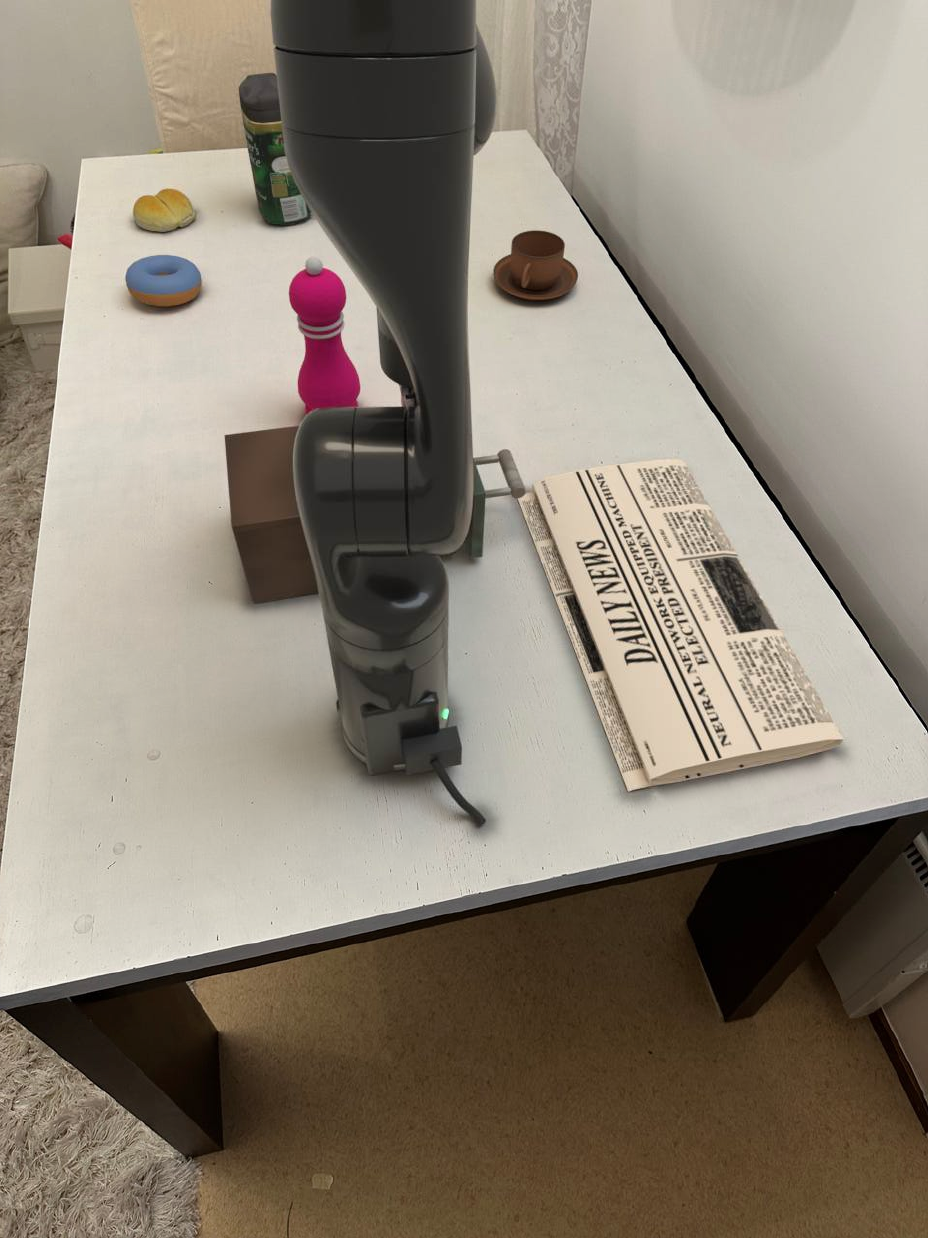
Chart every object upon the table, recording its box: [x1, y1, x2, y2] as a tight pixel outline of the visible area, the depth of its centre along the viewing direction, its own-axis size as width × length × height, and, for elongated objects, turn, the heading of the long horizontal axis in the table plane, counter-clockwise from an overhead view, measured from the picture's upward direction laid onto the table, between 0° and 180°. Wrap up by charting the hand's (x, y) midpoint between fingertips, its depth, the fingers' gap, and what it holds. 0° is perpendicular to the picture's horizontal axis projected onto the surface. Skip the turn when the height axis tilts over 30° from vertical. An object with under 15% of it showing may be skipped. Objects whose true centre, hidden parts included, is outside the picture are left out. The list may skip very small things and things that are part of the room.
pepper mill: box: [288, 256, 361, 416], centre depth 94 cm, size 7×7×20 cm
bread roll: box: [132, 188, 197, 233], centre depth 129 cm, size 8×9×4 cm
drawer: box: [442, 448, 527, 559], centre depth 86 cm, size 19×12×9 cm, turn 103°
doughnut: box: [124, 254, 203, 307], centre depth 115 cm, size 10×10×5 cm
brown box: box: [224, 425, 319, 604], centre depth 84 cm, size 15×13×11 cm
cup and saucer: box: [492, 229, 579, 301], centre depth 118 cm, size 12×12×6 cm
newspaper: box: [517, 458, 844, 792], centre depth 83 cm, size 37×19×3 cm, turn 13°
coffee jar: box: [238, 72, 312, 226], centre depth 125 cm, size 10×8×19 cm
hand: (425, 471), depth 83 cm, fingers closed on pill bottle, 4 cm apart
